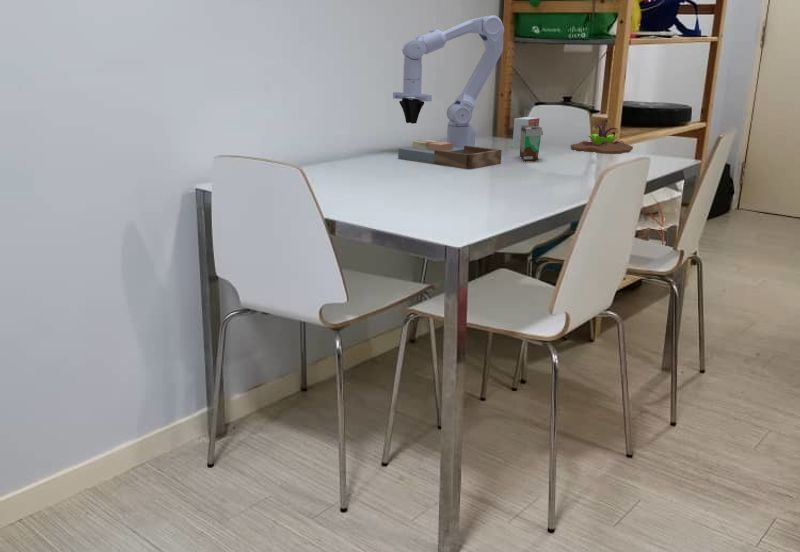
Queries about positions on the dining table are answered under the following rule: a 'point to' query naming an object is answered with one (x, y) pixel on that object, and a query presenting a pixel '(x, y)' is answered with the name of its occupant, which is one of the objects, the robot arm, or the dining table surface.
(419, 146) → the birch tile
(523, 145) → the food container
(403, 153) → the bench plate
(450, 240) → the dining table surface
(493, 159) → the tray
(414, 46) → the robot arm
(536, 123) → the small box
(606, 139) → the plant
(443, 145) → the terracotta tile
